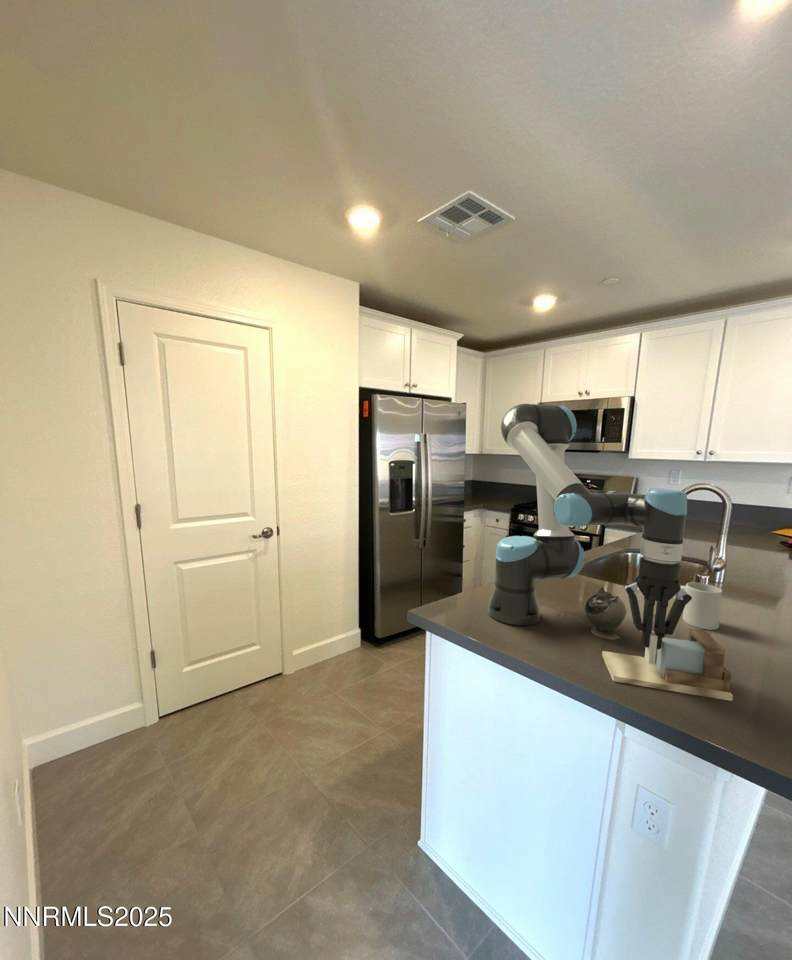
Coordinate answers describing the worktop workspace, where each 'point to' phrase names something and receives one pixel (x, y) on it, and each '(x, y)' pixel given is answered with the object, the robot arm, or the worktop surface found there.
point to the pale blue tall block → (680, 656)
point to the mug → (702, 605)
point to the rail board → (648, 675)
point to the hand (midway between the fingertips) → (649, 660)
